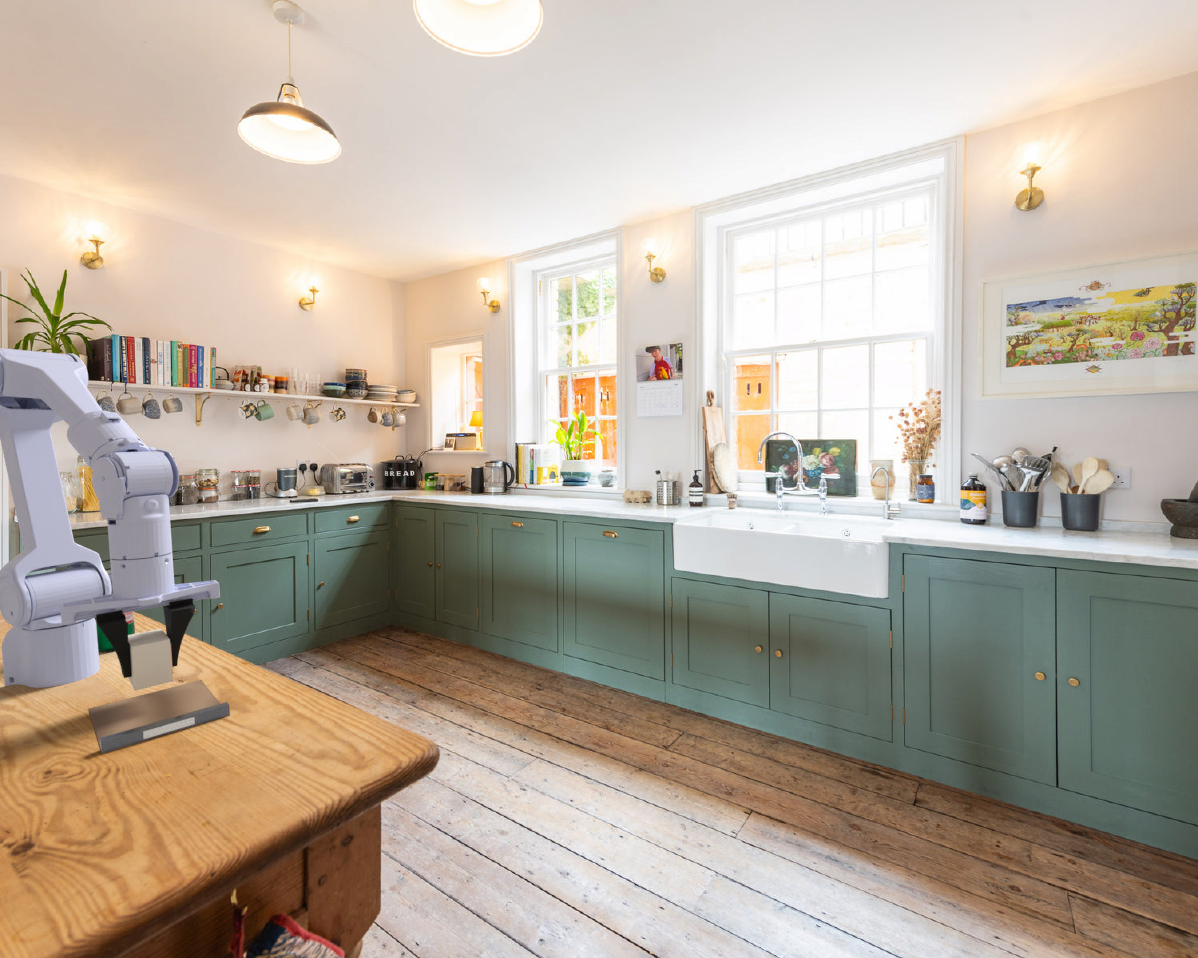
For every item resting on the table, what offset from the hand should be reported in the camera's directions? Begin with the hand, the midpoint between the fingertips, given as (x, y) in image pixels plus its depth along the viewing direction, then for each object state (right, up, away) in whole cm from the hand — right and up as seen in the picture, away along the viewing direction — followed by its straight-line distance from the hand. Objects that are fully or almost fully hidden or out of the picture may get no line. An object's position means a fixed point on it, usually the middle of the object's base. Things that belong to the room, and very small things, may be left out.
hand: (150, 669), depth 69 cm
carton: (0, -1, 0) cm, 1 cm away
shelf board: (+3, -6, -2) cm, 6 cm away
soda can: (-24, -4, +24) cm, 34 cm away
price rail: (+7, -4, -7) cm, 11 cm away
